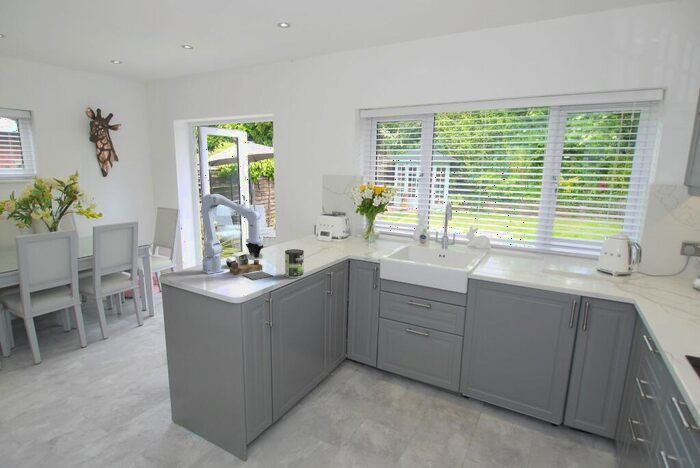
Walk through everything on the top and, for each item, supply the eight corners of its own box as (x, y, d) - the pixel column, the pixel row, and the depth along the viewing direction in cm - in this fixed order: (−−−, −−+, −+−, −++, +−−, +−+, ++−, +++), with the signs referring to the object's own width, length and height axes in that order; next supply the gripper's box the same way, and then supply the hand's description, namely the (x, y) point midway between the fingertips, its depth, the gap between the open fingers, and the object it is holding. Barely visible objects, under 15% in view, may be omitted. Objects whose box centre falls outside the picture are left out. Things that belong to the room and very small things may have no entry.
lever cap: (251, 260, 202) (251, 254, 201) (247, 258, 205) (246, 253, 205) (262, 258, 207) (262, 252, 206) (258, 256, 210) (258, 251, 209)
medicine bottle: (249, 264, 228) (233, 269, 218) (241, 262, 232) (225, 268, 222) (247, 253, 226) (231, 258, 217) (240, 251, 230) (224, 256, 221)
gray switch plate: (253, 280, 196) (253, 279, 196) (242, 275, 205) (242, 274, 205) (273, 276, 205) (273, 275, 204) (261, 271, 213) (261, 271, 213)
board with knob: (235, 275, 206) (235, 264, 205) (229, 272, 211) (229, 262, 210) (262, 270, 217) (262, 260, 216) (256, 267, 222) (256, 257, 221)
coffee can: (307, 275, 209) (307, 250, 206) (295, 279, 200) (295, 253, 198) (293, 272, 214) (293, 248, 212) (281, 276, 205) (281, 251, 203)
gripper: (267, 233, 201) (267, 258, 203) (253, 230, 211) (254, 253, 213) (255, 234, 196) (256, 259, 198) (242, 231, 206) (242, 255, 209)
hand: (254, 256), depth 206 cm, fingers closed on lever cap, 4 cm apart
